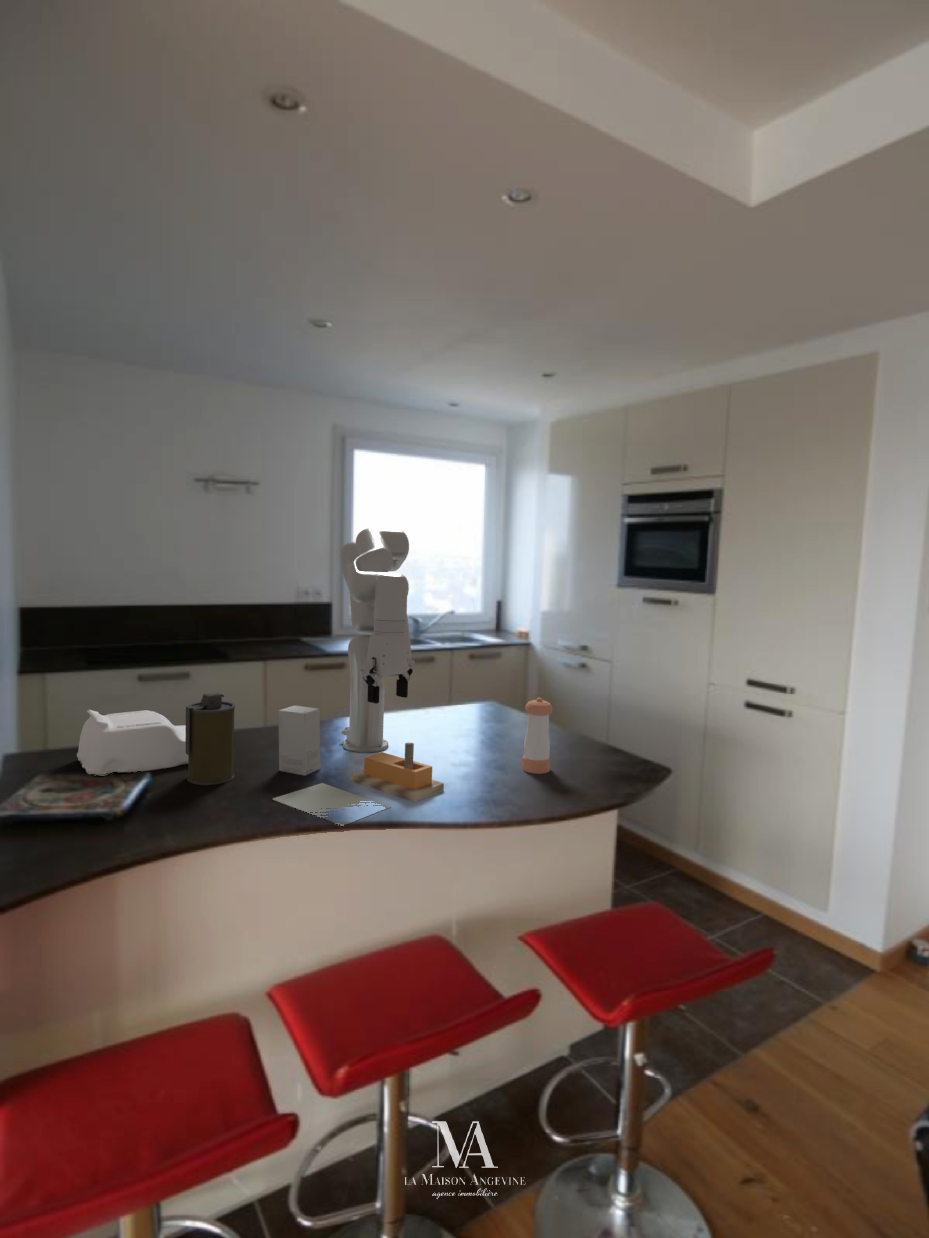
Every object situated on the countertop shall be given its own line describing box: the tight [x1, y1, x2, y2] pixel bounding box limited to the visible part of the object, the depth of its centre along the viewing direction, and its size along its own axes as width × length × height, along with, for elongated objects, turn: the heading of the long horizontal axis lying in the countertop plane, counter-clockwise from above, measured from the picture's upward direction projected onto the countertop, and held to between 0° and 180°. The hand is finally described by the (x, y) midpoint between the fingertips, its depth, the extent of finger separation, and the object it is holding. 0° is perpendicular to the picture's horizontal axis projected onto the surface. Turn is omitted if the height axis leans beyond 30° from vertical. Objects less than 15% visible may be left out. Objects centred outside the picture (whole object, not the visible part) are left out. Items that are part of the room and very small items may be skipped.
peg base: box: [351, 742, 445, 803], centre depth 156 cm, size 20×10×11 cm, turn 53°
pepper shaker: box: [521, 697, 554, 775], centre depth 173 cm, size 7×7×19 cm
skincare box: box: [277, 705, 321, 777], centre depth 165 cm, size 8×7×16 cm
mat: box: [272, 782, 391, 827], centre depth 144 cm, size 22×14×1 cm, turn 53°
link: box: [363, 751, 433, 790], centre depth 156 cm, size 16×6×4 cm, turn 53°
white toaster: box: [76, 709, 188, 775], centre depth 168 cm, size 19×30×13 cm, turn 128°
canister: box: [185, 692, 236, 786], centre depth 156 cm, size 11×10×20 cm
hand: (387, 699), depth 157 cm, fingers open, 9 cm apart
